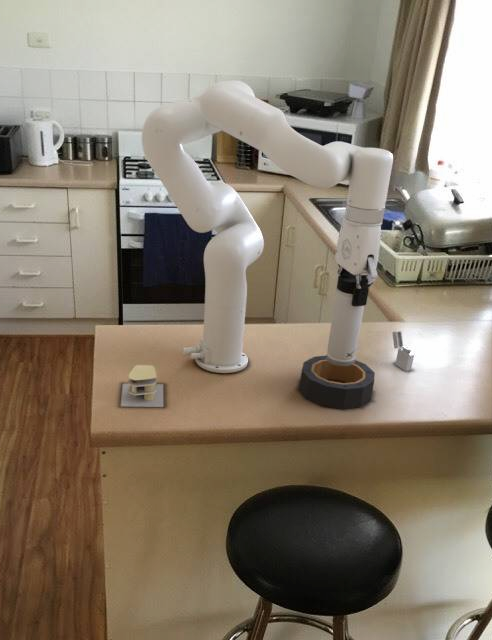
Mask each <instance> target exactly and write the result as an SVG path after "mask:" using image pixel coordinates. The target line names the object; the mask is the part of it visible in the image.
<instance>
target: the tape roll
mask: <svg viewBox="0 0 492 640" xmlns="http://www.w3.org/2000/svg"><path fill="white" fill-rule="evenodd" d="M326 356H327V354H326V355H317V356H313V357H311V358H309V359H307V360H305V361H303V363H302V368H301V373H300V379H299V380H300V381H299V388H298V390H299V391H300V392H301V394H302V395H303V396H304V397H305V399H306V400H308V401H310V402H313V403H315V404H317V405H320V406H322V407H325V408H332V409H339V410H348V409H356V408H361V407H363V406H364V405H366V404H368V403H369V402H371V400H372V395H373V390H374V384H375V375H376V374H375V373H376V372H374V370H373V369H371V368H370V367H369V366H368V364H367V363H364V362H362V361H359V360H357V359H355V362H354V363H353V364H352V365H350V366H337V365H334V364H331V363H330V362H328V361H327V359H326ZM332 380H334V381H332ZM337 381H340V382H337ZM341 381H342V382H341ZM343 382H344V383H343Z"/></svg>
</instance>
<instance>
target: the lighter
mask: <svg viewBox="0 0 492 640" xmlns="http://www.w3.org/2000/svg"><path fill="white" fill-rule="evenodd" d="M391 335H392V341H393V348H394V349H397V352H396V353H397V354H396V358H395V364H394V365H395V366H397V367H399V368H400V369H402V370H403V371H404V372H409V371H411V370H412V368H413V362H414V359H415V353H413V352H412V348H410V347H409V346H407V345H404V341H403V333H402V330H395V331H392V333H391Z"/></svg>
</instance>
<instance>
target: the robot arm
mask: <svg viewBox="0 0 492 640" xmlns="http://www.w3.org/2000/svg"><path fill="white" fill-rule="evenodd" d="M220 132H224V133H226V134H228V135H230V136H232V137H233V138H234V139H237V140H239V141H241V142H242V143H245V144H247V145H248V146H251V147H252V148H255V149H256V150H258V151H260V152H261V153H263V155H264V156H265V158H267V159H268V160H269V161H270V162H271V163H273V164H274V165H276V167H277V168H278V169H280V170H282V171H283V172H285V173H286V174H287V175H290V176H291V177H293V178H295V179H297V180H300V181H301V182H303V183H305V184H307V185H309V186H311V187H314V188H318V189H329V188H333V187H335V186H336V185H338V184H339V183H342V182H346V181H348V182H349V185H348V192H347V198H346V205H345V212H344V216H343V219H342V223H341V226H340V229H339V234H338V238H337V243H336V247H335V255H334V261H335V262H336V264H337V266H338V269H337V275H338V277H337V279H338V278H339V277H340V275H341V274H344V273H351V274H353V275H356V287H354V291H353V297H352V304H351V305H352V306H364V307H365V306H367V304H368V303H367V302H368V296H369V290H370V289H371V287H372V285H373V284H374V282H376V280H377V279H378V277H379V276H378V272H377V266H378V264H379V263H378V262H379V256H380V249H381V248H380V247H381V235H382V225H383V221H384V215H385V211H386V210H385V209H386V204H387V198H388V193H389V186H390V182H391V181H390V180H391V174H392V169H393V163H394V156H393V153H391V151H389V150H387V149H384V148H379V147H363V146H358V145H355V144H351V143H348V142H344V141H341V140H340V141H339V140H338V141H332V142H329V143H326V144H325V145H321V144H319V143H318V142H316V141H314V140H311V139H310V138H308V137H306V136H304V135H302V134H301V133H299V132H297V131H296V130H295V129H294V128H293V127H292V126H291V125H290V124H289V122H288V120H287V118H286V114H285V113H284V112H283V111H282V110H281V109H280V108H278V107H276V106H274V105H271V104H270V103H268V102H266V101H264V100H262V99H259V98H257V97H256V96H255V92H254V91H253V89H252V88H251V87H250V85H248V84H247V83H246V82H244V81H241V80H238V79H231V80H223V81H218V82H215V83H212V84H210V85H209V86H207V88H206V89H205V90H204V91H203V93H201V94H199V95H195V96H193V97H192V98H188V99H183V100H179V101H173V102H167V103H164V104H161V105H160V106H157V107H155V108H154V109H153V110H151V112H150V113H149V114H148V116H146V119H145V121H144V123H143V126H142V131H141V147H142V151H143V154H144V156H145V159H146V162H147V163H148V165H149V166H150V168H151V169H152V170H153V172H154V173H155V175H156V176H157V177H158V179H159V181H160V182H161V184H162V185H163V187H164V188H165V190H166V192H167V193H168V195H169V197H170V199H171V200H172V201H173V203H174V205H175V206H176V208H177V209H178V211H179V213H180V215H181V216H182V218H183V219H184V221H185V222H186V224H187V225H188V226H189V228H190V229H191V230H192V231H194V232H196V233H199V234H205V233H208V232H211V231H213V230H215V232H216V233H217V234H216V235H214V236H213V237H212V238H211V239H210V240H209V242H208V243H207V244H206V245H205V249H204V253H203V267H204V278H205V280H204V281H205V284H204V285H205V287H204V288H205V289H204V292H205V293H204V311H203V312H204V313H203V330H202V333H203V334H202V340H200V341H198V345H195V346H194V347H193V346H192V347H191V346H190V347H188V346H187V347H182V351H181V353H182V356H183V357H189V356H190V359H191V360H194V361H195V363H196V365H197V366H198V367H200V368H201V369H203V370H205V371H208V372H212V373H215V374H231V373H238V372H240V371H242V370H244V369H246V367H247V366H248V363H249V357H248V356H247V355H246V354H245V353H244V352H243V346H244V333H245V323H246V310H247V299H248V298H247V297H248V284H247V277H246V276H247V273H246V272H247V268H248V267H249V266H250V265H252V264H253V263H254V262H256V261H257V260H258V259H259V258H260V256H261V255H262V254H263V251H264V247H265V241H264V237H263V233H262V231H261V229H260V227H259V225H258V224H257V222H256V221H255V219H254V217H253V216H252V214H251V213H250V211H249V209H248V208H247V206H246V204H245V203H244V201H243V199H242V198H241V196H240V195H239V193H238V192H237V191H236V190H235V189H234V188H233V187H232V186H231V185H229V184H228V183H226V182H223V181H219V180H218V181H217V180H215V181H211V182H209V181H208V180H207V178H206V177H205V176H204V174H203V172H202V171H201V169H200V167H199V165H198V164H197V162H196V161H195V160H194V159H193V158H192V157H191V155H189V154H188V153H187V152H186V151H185V150H184V148H183V145H185V144H189V143H192V142H196V141H198V140H199V141H200V140H201V139H204V138H206V137H209V136H211V135H214V134H217V133H220ZM363 271H365V272H363ZM361 276H365V277H366V278H364V279H363V280H362V281H361ZM337 285H338V281H337V283H336V286H337ZM336 291H337V288H336V289H335V292H336Z"/></svg>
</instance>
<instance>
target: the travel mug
mask: <svg viewBox="0 0 492 640" xmlns="http://www.w3.org/2000/svg"><path fill="white" fill-rule="evenodd" d="M339 276H340V277H339V278H338V277H337V282H338V285H337V284H336V289H337V291H336V290H335V297H334V305H333V310H332V317H331V322H330V323H331V324H330V329H329V337H328V343H327V349H326V350H327V351H326V355H327V356H326V355H325V356H326V359H327V361H328V362H330V363H331V364H334V365H337V366H350V365H352V364H353V363H354V362H355V360H356V355H357V350H358V344H359V338H360V333H361V327H362V321H363V315H364V310H365V306H352V305H351V304H352V297H353V291H354V287H356V275H353V274H351V273H344V274H341V275H339ZM364 278H366V277H365V276H361V281H362V280H363V279H364Z"/></svg>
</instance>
